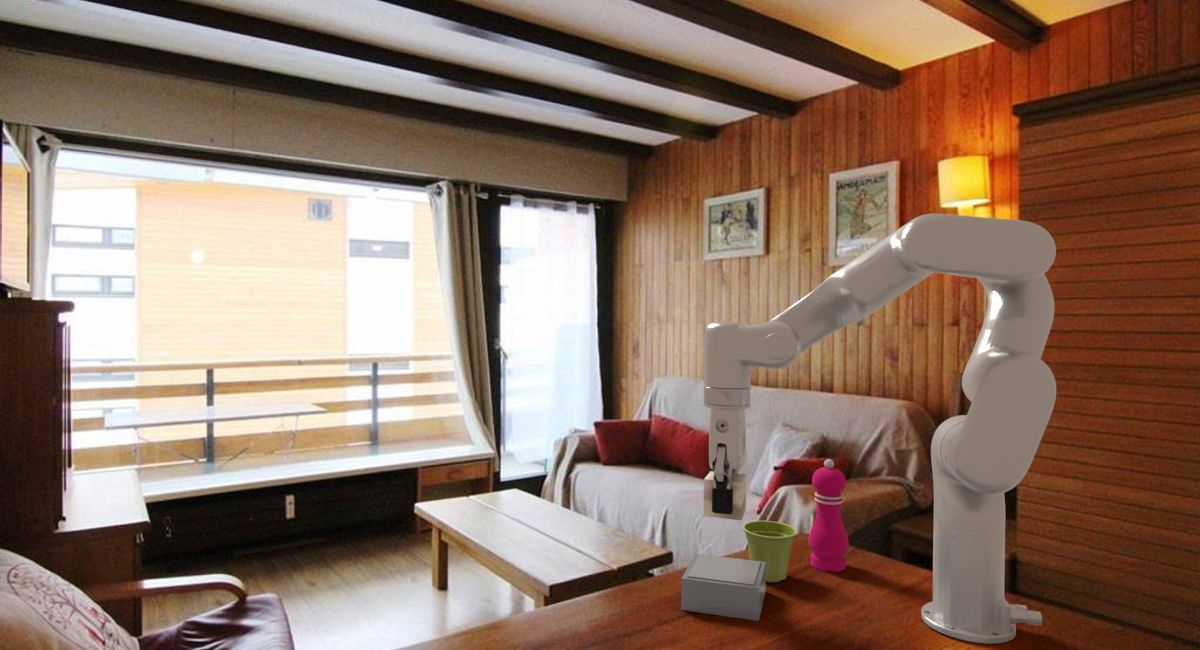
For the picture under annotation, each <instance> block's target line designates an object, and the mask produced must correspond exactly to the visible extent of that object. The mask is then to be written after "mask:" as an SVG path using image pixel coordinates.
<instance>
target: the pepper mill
mask: <svg viewBox="0 0 1200 650" xmlns="http://www.w3.org/2000/svg"><path fill="white" fill-rule="evenodd" d="M823 465H824V466H823V467H820V468H818V469H815V471H814V472H813V475H812V478H811V483H812V484H811V485H812V486H813V488H814V489H815V491H816V492H814V501H815V502H816V507H817V508H816V516H815V520H814V522H813V523H812V526H811V527H810V530H809V533H808V537H807V543H808V547H809V548H810V549H811V551H812V552H811V554H810V565H811V567H813V568H814V569H816V570H820V571H823V572H829V573H835V572H836V573H838V572H842V571H844V570H846V568H847V558H846V557H845V556H844V555H845V554H846V552H848V551H849V547H850V544H849V538H848V533H847V531H846V529H845V525H844V524H843V521H842V517H841V504H843V502H844V500H843V497H844V494H842V492H843V491H844V490H845V489H846V488H847V487H846V486H847V480H846V476H845V474H844V473H843V472H842V471H841V470H839V469H837V468H835V467H834V466H835V462H834V461H833V460H832V459H830V458H828V459H826V460H825V461H824V462H823Z"/></svg>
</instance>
